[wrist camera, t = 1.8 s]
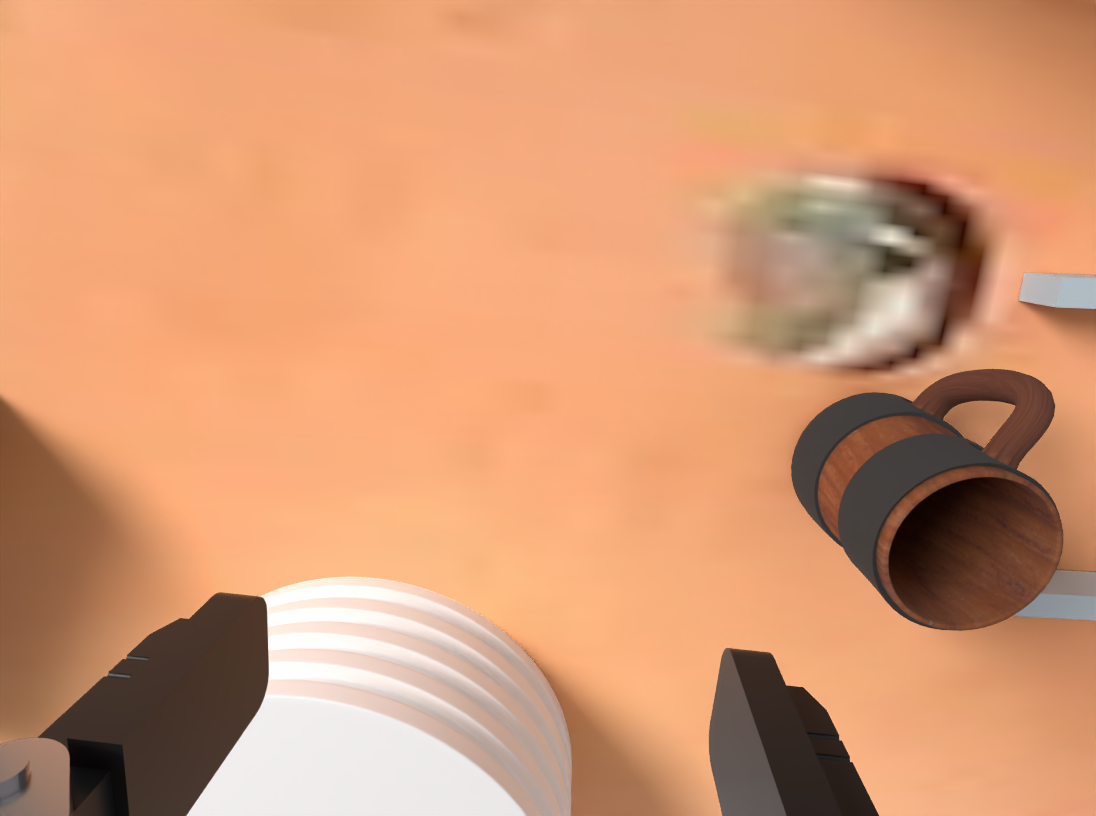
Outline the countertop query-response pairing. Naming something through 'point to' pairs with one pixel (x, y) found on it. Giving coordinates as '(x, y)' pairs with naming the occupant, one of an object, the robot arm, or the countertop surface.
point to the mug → (936, 498)
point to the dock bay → (1066, 589)
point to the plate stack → (393, 713)
